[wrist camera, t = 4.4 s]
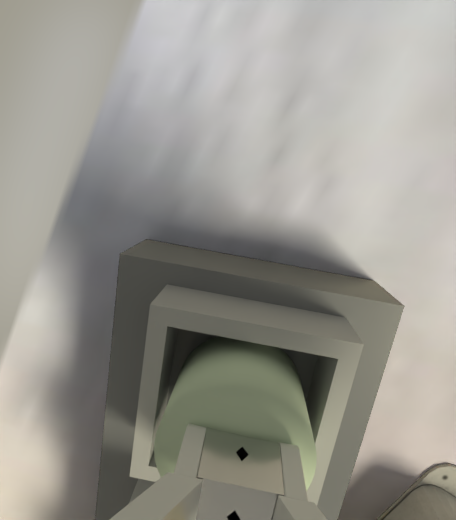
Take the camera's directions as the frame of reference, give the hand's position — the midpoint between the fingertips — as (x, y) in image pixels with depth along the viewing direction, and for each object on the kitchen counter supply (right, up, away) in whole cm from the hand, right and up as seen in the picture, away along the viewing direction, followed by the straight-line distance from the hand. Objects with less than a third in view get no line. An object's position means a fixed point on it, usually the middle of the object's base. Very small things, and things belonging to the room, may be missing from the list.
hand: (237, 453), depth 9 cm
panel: (-1, -6, +8) cm, 11 cm away
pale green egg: (0, +1, +3) cm, 3 cm away
